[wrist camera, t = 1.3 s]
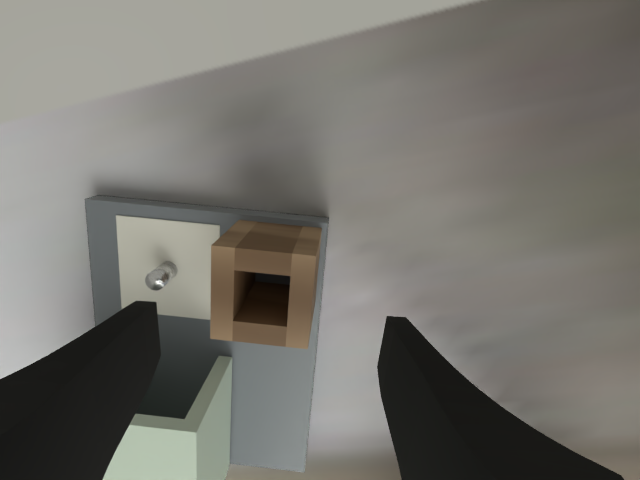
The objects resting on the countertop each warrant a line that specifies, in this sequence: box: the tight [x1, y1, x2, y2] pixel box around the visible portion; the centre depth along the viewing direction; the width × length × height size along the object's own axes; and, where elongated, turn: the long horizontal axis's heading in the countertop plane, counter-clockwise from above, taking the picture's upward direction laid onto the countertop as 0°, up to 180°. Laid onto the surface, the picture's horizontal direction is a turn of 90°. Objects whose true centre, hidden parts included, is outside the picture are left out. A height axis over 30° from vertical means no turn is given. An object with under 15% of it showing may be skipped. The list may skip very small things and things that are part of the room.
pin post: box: [145, 261, 178, 291], centre depth 21 cm, size 1×1×2 cm
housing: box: [103, 356, 232, 480], centre depth 22 cm, size 8×7×6 cm
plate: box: [85, 195, 329, 472], centre depth 24 cm, size 16×13×1 cm
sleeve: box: [210, 220, 322, 349], centre depth 19 cm, size 4×4×5 cm
